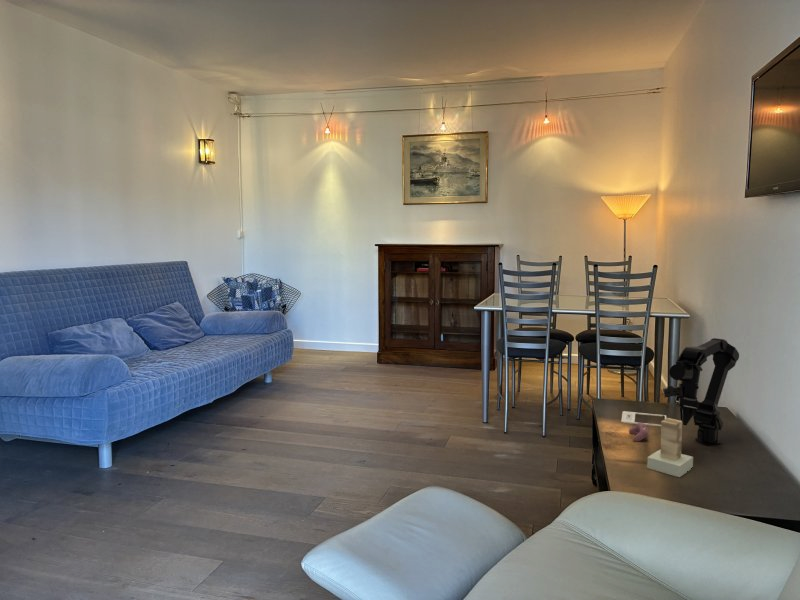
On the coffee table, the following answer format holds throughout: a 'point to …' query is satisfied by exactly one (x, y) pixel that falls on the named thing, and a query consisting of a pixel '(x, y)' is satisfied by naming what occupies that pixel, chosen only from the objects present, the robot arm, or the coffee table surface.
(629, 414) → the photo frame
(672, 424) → the birch block
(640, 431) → the pink lumpy piece
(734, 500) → the coffee table surface
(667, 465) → the white flat block
